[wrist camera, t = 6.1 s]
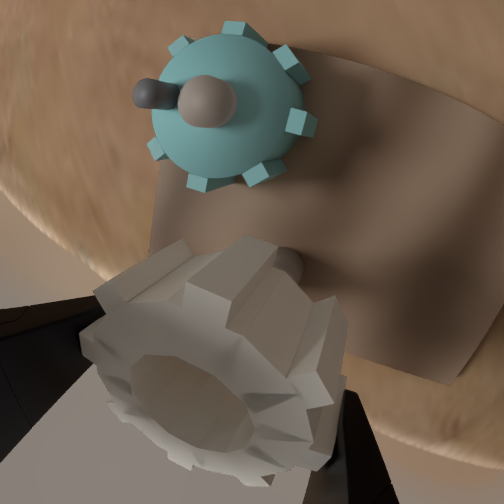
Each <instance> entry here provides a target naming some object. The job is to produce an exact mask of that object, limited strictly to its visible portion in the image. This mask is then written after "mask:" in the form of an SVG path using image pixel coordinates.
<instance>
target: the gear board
mask: <svg viewBox="0 0 504 504" xmlns="http://www.w3.org/2000/svg"><path fill="white" fill-rule="evenodd" d="M188 38H190V39H192V40H194V41H197V40H200V39H202V38H205V37H188ZM280 47H282V46H281V45H275V44H268V47H267V49H268V50H269V51H270V52H271V53H272V54H273V51H275V50H277V49H278V48H280ZM289 49H290V50H291V51H292V52H293V54H294V55H295V56H296V57H297V59H298V60H299V61H300V62H301V64H302V65H303V67H304V68H305V70H306V71H307V73H308V74H309V76H310V77H311V80H309V81H307V82H306V83H304V84H302V85H300V84H299V85H300V87H301V90H302V92H303V97H304V103H305V111H306V112H308V113H310V114H311V115H313V116H314V117H316V118H317V119H318V122H317V126H316V130H315V133H314V137H313V138H311V137H306V136H301V135H299V136H298V138H297V140H296V142H295V143H294V145H293V146H292V148H291V149H290V150H289V151H288V152H287V153H286V154H285V155H284V156H283V157H282V158H281V159H282V161H283V163H284V164H285V166H286V168H287V171H285V172H284V173H282V174H280V175H278V176H276V177H275V178H273V179H271V180H268V181H266V182H263V183H260V184H258V185H255V186H253V187H250V188H249V186H248V184H247V182H246V181H245V179H244V177H243V175H242V174H239V175H235V180H234V184H230V185H227V186H224V187H221V188H218V189H215V190H212V191H209V192H206V193H204V192H200V191H197V190H194V189H191V188H187V187H186V185H187V180H188V174H189V172H187V171H185V170H183V169H182V168H180V167H179V166H178V165H176V164H175V163H174V162H173V161H172V160H171V159H165V160H161V164H160V170H159V176H158V183H157V190H156V197H155V204H154V212H153V220H152V229H151V238H150V248H149V257H150V256H152V255H153V254H155V253H157V252H159V251H160V250H162V249H164V248H166V247H168V246H169V245H171V244H173V243H175V242H177V241H178V240H180V239H182V238H184V240H185V241H186V243H187V245H188V247H189V249H190V250H191V252H192V254H193V255H194V256H199V255H205V254H211V253H217V252H222V251H225V250H226V249H228V248H229V247H230V246H231V245H233V244H234V243H235V242H237V241H238V240H239V239H241V238H242V237H243V236H244V235H249V236H252V237H255V238H257V239H260V240H263V241H266V242H269V243H271V244H274V245H277V246H278V250H277V253H276V257H275V260H274V263H273V267H274V268H277V269H280V270H282V271H285V272H286V273H287V274H288V275H289V276H290V277H291V279H292V280H293V281H294V282H295V283H296V284H297V285H298V286H299V287H300V288H301V289H302V291H303V292H304V293H305V294H306V295H307V296H308V297H309V298H310V299H311V301H312V302H313V303H316V302H319V301H321V300H324V299H327V298H329V297H332V296H334V295H335V296H336V298H337V300H338V303H339V305H340V307H341V309H342V311H343V313H344V315H345V317H346V319H347V321H348V329H347V336H346V342H345V349H344V352H347V353H349V354H352V355H355V356H358V357H361V358H364V359H367V360H370V361H373V362H376V363H379V364H382V365H385V366H388V367H391V368H394V369H397V370H400V371H403V372H406V373H410V374H413V375H416V376H419V377H423V378H426V379H429V380H432V381H436V382H439V383H443V384H446V385H450V384H451V383H452V382H453V381H454V379H455V378H456V377H457V375H458V374H459V373H460V371H461V370H462V369H463V367H464V366H465V364H466V363H467V362H468V360H469V359H470V357H471V356H472V354H473V353H474V352H475V350H476V349H477V347H478V346H479V344H480V342H481V341H482V339H483V338H484V336H485V335H486V333H487V331H488V330H489V328H490V327H491V325H492V323H493V322H494V320H495V318H496V316H497V315H498V313H499V311H500V309H501V308H502V306H503V304H504V125H503V124H501V123H499V122H497V121H496V120H494V119H492V118H490V117H489V116H487V115H485V114H483V113H481V112H479V111H478V110H476V109H474V108H472V107H470V106H468V105H466V104H464V103H462V102H460V101H458V100H456V99H453V98H451V97H449V96H447V95H445V94H442V93H440V92H438V91H436V90H433V89H431V88H429V87H426V86H424V85H421V84H419V83H416V82H414V81H411V80H408V79H406V78H403V77H400V76H398V75H395V74H392V73H389V72H386V71H383V70H380V69H377V68H374V67H371V66H367V65H364V64H361V63H357V62H353V61H350V60H346V59H342V58H339V57H335V56H330V55H326V54H322V53H317V52H313V51H308V50H303V49H298V48H293V47H289ZM273 55H274V54H273ZM274 56H275V55H274ZM237 105H238V99H237V94H236V92H235V90H234V88H233V87H232V86H231V85H230V84H229V83H228V82H226V81H223V80H221V79H218V78H216V77H213V76H210V75H200V76H196V77H194V78H192V79H191V80H189V81H188V82H187V83H186V84H185V85H184V86H183V88H182V90H181V91H180V94H179V97H178V110H179V113H180V115H181V117H182V119H183V120H184V121H185V122H186V123H187V124H189V125H191V126H194V127H201V128H218V127H221V126H223V125H225V124H226V123H228V122H229V121H230V120H231V119H232V117H233V116H234V114H235V112H236V109H237Z"/></svg>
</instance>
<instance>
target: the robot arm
mask: <svg viewBox="0 0 504 504" xmlns="http://www.w3.org/2000/svg"><path fill="white" fill-rule="evenodd" d="M106 314H107V313H105V311H104V310H103V308H102V306H101V305H100V303H99V301H98V300H97V298H96V296H95V295H94V296H88V297H81V298H75V299H69V300H62V301H57V302H50V303H43V304H37V305H31V306H23V307H17V308H9V309H0V462H2V461H3V459H4V458H5V457H6V456H7V455H8V454H9V453H10V452H11V450H12V449H13V448H14V447H15V446H16V445H17V444H18V443H19V442H20V441H21V439H22V438H23V437H24V436H25V435H26V434H27V433H28V432H29V431H30V430H31V429H32V427H33V426H34V425H35V424H36V423H37V422H38V421H39V420H40V419H41V418H42V416H43V415H44V414H45V413H46V412H47V411H48V410H49V409H50V408H51V407H52V406H53V405H54V404H55V403H56V402H57V400H58V399H59V398H60V397H61V396H62V395H63V394H64V393H65V392H66V391H67V390H68V389H69V388H70V387H71V386H72V385H73V384H74V383H75V382H76V381H77V380H78V379H79V378H80V377H81V376H82V374H83V373H84V372H85V371H86V370H87V369H88V368H89V367H90V366H91V365H92V364H93V362H91V361H90V360H88V359H87V358H86V357H84V356H83V355H82V350H81V344H80V337H79V333H80V332H81V331H82V330H84V329H85V328H86V327H88V326H89V325H91V324H92V323H93V322H95V321H96V320H98V319H100V318H101V317H103V316H104V315H106ZM390 483H391V480H390V477H389V474H388V471H387V469H386V466H385V463H384V460H383V458H382V455H381V452H380V450H379V447H378V445H377V442H376V440H375V437H374V434H373V432H372V429H371V426H370V424H369V421H368V419H367V416H366V414H365V411H364V409H363V406H362V404H361V401H360V399H359V396H358V394H357V393H356V392H353V391H350V390H347V389H345V390H344V392H343V397H342V403H341V408H340V414H339V419H338V425H337V434H336V439H335V444H334V448H333V453H332V457H331V458H330V459H329V460H328V461H327V462H326V463H325V464H324V465H323V466H322V467H321V468H320V469H319V470H318V471H317V472H316V471H312V470H311V474H310V478H309V482H308V486H307V489H306V493H305V497H304V500H303V504H399V501H398V499H397V496H396V494H395V491H394V488H393V485H392V484H390Z"/></svg>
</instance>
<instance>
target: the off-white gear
mask: <svg viewBox="0 0 504 504" xmlns="http://www.w3.org/2000/svg"><path fill="white" fill-rule="evenodd" d="M277 250H278V246H277V245H274V244H271V243H269V242H266V241H263V240H260V239H257V238H255V237H252V236H249V235H244V236H243V237H242V238H241V239H239V240H238V241H237V242H235V243H234V244H233V245H231V246H230V247H229V248H228V249H226V250H225V251H222V252H217V253H211V254H205V255H199V256H194V255H193V254H192V252H191V250H190V249H189V247H188V245H187V243H186V241H185V240H184V238H182V239H180V240H178V241H177V242H175V243H173V244H171V245H169V246H168V247H166V248H164V249H162V250H160V251H159V252H157V253H155V254H153V255H152V256H150V257H148V258H146V259H145V260H143V261H141V262H139V263H138V264H136V265H134V266H132V267H131V268H129V269H127V270H126V271H124V272H122V273H120V274H119V275H117V276H115V277H114V278H112V279H110V280H109V281H107V282H106V283H104V284H103V285H101V286H100V287H98V288H97V289H95V290H94V291H93V293H94V294H95V296H96V298H97V300H98V301H99V303H100V305H101V306H102V308H103V310H104V311H105V313H107V314H106V315H104V316H103V317H101V318H100V319H98V320H96V321H95V322H93V323H92V324H91V325H89V326H88V327H86V328H85V329H84V330H82V331H81V332H80V333H79V337H80V344H81V350H82V355H83V356H84V357H86V358H87V359H88V360H90V361H91V362H93V363H94V364H95V365H97V371H98V374H99V376H100V378H101V380H102V381H103V383H104V385H105V386H106V388H107V390H108V391H109V393H110V395H111V396H112V397H111V398H110V399H109V400H108V401H107V402H106V403H107V404H108V406H109V407H110V408H111V409H112V411H113V412H114V413H115V414H116V415H117V416H118V418H119V419H120V420H121V421H122V422H123V423H133V424H134V425H135V426H136V427H137V428H138V429H139V430H141V431H142V432H143V433H144V434H145V435H146V436H147V437H148V438H150V439H151V440H152V441H153V442H154V443H155V444H156V445H158V446H159V447H161V448H162V449H164V450H166V451H168V459H169V460H171V461H173V462H175V463H177V464H179V465H181V466H183V467H185V468H187V469H189V470H191V471H192V469H193V468H194V466H197V467H199V468H201V469H204V470H208V471H213V472H218V473H222V474H227V475H232V476H236V477H237V478H238V479H239V480H240V481H241V482H242V483H243V484H244V485H245V486H271V484H272V481H273V479H274V476H275V474H276V473H281V472H285V471H290V470H291V469H292V468H293V467H294V466H295V465H296V466H300V467H303V468H306V469H309V470H312V471H316V472H317V471H318V470H319V469H320V468H321V467H322V466H323V465H324V464H325V463H326V462H327V461H328V460H329V459H330V458H331V457H332V453H333V448H334V444H335V439H336V434H337V425H338V419H339V414H340V408H341V403H342V397H343V392H344V390H345V385H346V379H347V376H344V375H341V374H340V373H341V367H342V361H343V355H344V349H345V342H346V336H347V329H348V321H347V319H346V317H345V315H344V313H343V311H342V309H341V307H340V305H339V303H338V300H337V298H336V296H335V295H334V296H332V297H329V298H327V299H324V300H321V301H319V302H316V303H313V302H312V301H311V299H310V298H309V297H308V296H307V295H306V294H305V293H304V292H303V291H302V289H301V288H300V287H299V286H298V285H297V284H296V283H295V282H294V281H293V280H292V279H291V277H290V276H289V275H288V274H287V273H286V272H285V271H282V270H280V269H277V268H274V267H273V263H274V260H275V257H276V253H277Z"/></svg>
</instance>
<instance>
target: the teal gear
mask: <svg viewBox="0 0 504 504" xmlns="http://www.w3.org/2000/svg"><path fill="white" fill-rule="evenodd" d="M267 47H268V43H267V42H266V41H265V40H264V39H263V38H262V37H261V36H260V35H259V34H258V33H257V32H256V31H255V30H254V29H253V28H252V27H250V26H249V25H248V24H247V23H246V22H235V21H225V22H224V26H223V29H222V33H221V34H219V35H212V36H208V37H205V38H202V39H200V40H197V41H194V40H192V39H190V38H188V37H186V36H184V35H182V36H181V37H180V38H179V39H177V40H176V41H175V42H174V43H173V44H171V45H170V46H169V47H168V50H169V51H170V53H171V55H172V56H173V58H172V60H171V61H170V62H169V63H168V64H167V66H166V67H165V69H164V70H163V72H162V74H161V76H160V78H159V80H154V79H149V78H145V79H142V80H140V81H139V82H138V83H137V84H136V86H135V88H134V90H133V101H134V103H135V105H136V106H137V107H139V108H146V109H152V121H153V127H154V131H155V134H156V136H155V137H154V138H153V139H152V140H151V141H150V142H148V143H147V146H148V148H149V150H150V152H151V154H152V156H153V157H154V159H155V161H158V160H165V159H171V160H172V161H173V162H174V163H175V164H176V165H178V166H179V167H180V168H182V169H183V170H185V171H187V172H189V174H188V180H187V185H186V187H187V188H191V189H194V190H197V191H200V192H204V193H206V192H209V191H212V190H215V189H218V188H221V187H224V186H227V185H230V184H234V180H235V175H239V174H242V175H243V177H244V179H245V181H246V182H247V184H248V186H249V188H250V187H253V186H255V185H258V184H260V183H263V182H266V181H268V180H271V179H273V178H275V177H276V176H278V175H280V174H282V173H284V172H285V171H287V168H286V166H285V164H284V163H283V161H282V159H281V158H282V157H283V156H284V155H285V154H286V153H287V152H288V151H289V150H290V149H291V148H292V146H293V145H294V143H295V142H296V140H297V138H298V136H299V135H301V136H306V137H311V138H313V137H314V133H315V130H316V126H317V122H318V119H317V118H316V117H314V116H313V115H311V114H310V113H308V112H306V111H305V103H304V97H303V92H302V90H301V87H300V85H302V84H304V83H306V82H307V81H309V80H311V77H310V76H309V74H308V73H307V71H306V70H305V68H304V67H303V65H302V64H301V62H300V61H299V60H298V59H297V57H296V56H295V55H294V54H293V52H292V51H291V50H290V49H289V47H288V46H287V45H286V44H285V45H284V46H282V47H280V48H278V49H277V50H275V51H273V54H274V55H275V56H274V55H273V54H272V53H271V52H270V51H269V50H268V49H267ZM200 75H210V76H213V77H216V78H218V79H221V80H223V81H226V82H228V83H229V84H230V85H231V86H232V87H233V88H234V90H235V92H236V94H237V99H238V105H237V109H236V112H235V114H234V116H233V117H232V119H231V120H230V121H229V122H228V123H226V124H225V125H223V126H221V127H218V128H201V127H194V126H191V125H189V124H187V123H186V122H185V121H184V120H183V119H182V117H181V115H180V113H179V110H178V97H179V94H180V91H181V90H182V88H183V86H184V85H185V84H186V83H187V82H188V81H189V80H191V79H192V78H194V77H196V76H200ZM299 84H300V85H299Z"/></svg>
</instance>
